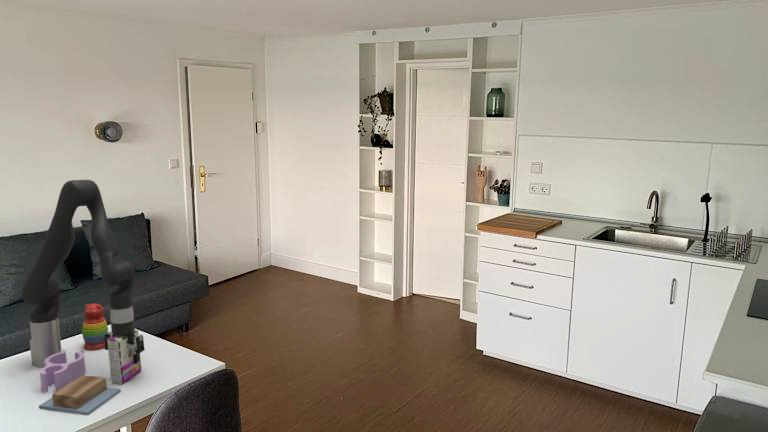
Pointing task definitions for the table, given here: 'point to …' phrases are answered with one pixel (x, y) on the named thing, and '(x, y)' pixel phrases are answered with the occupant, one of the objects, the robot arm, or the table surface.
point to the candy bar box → (121, 359)
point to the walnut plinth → (79, 391)
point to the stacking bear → (94, 327)
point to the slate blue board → (87, 407)
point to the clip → (61, 370)
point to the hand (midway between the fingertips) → (125, 362)
